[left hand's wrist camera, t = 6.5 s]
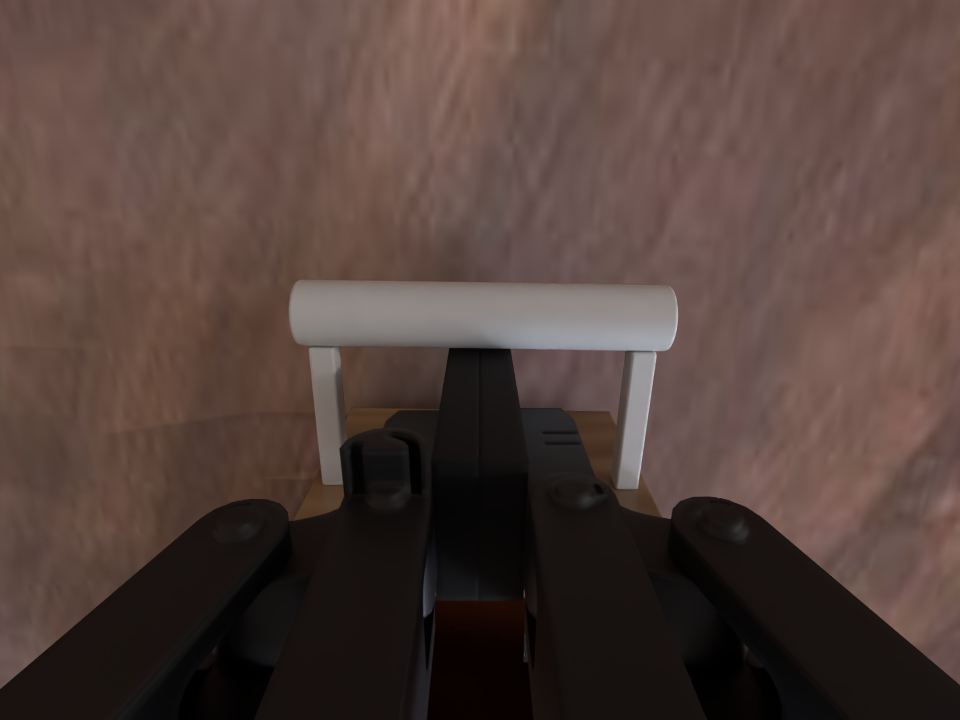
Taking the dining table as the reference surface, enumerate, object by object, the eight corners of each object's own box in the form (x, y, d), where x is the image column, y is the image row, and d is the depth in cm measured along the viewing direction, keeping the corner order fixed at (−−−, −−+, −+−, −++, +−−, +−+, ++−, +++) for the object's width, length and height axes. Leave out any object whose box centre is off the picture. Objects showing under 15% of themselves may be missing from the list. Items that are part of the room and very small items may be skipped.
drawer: (339, 249, 16) (239, 312, 9) (627, 253, 16) (728, 320, 9) (376, 723, 23) (334, 945, 17) (574, 725, 23) (611, 948, 17)
